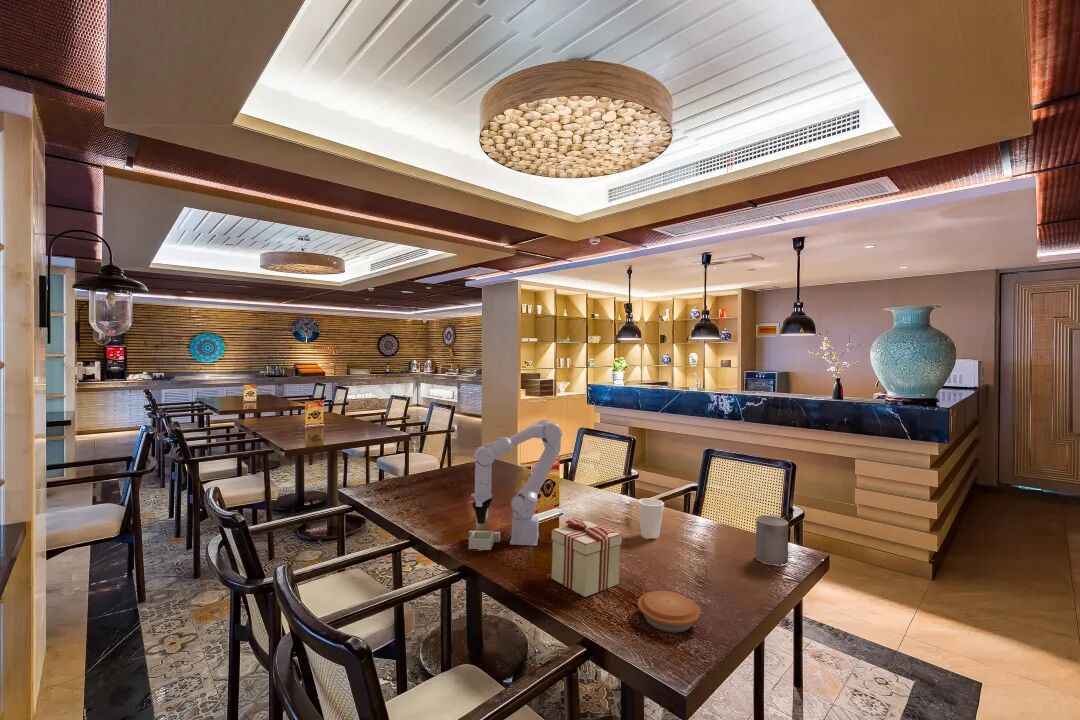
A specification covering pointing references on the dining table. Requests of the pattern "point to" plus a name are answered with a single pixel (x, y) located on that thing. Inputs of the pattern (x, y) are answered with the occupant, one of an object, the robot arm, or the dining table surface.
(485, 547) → the socket block
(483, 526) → the dowel
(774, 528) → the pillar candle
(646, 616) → the pie
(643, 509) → the foam cup
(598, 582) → the gift box
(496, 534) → the rail
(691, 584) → the dining table surface
